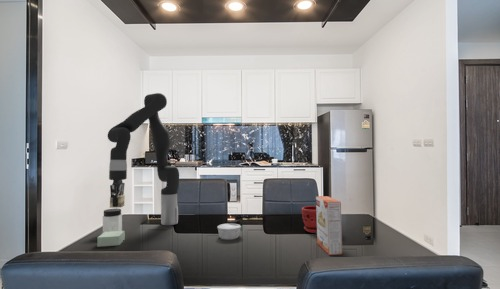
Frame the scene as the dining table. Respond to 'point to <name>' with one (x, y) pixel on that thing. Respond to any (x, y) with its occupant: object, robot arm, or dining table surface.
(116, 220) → the jar
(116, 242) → the pedestal
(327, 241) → the cracker box
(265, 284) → the dining table surface
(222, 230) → the ramekin
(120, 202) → the maple cube
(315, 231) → the plant pot
